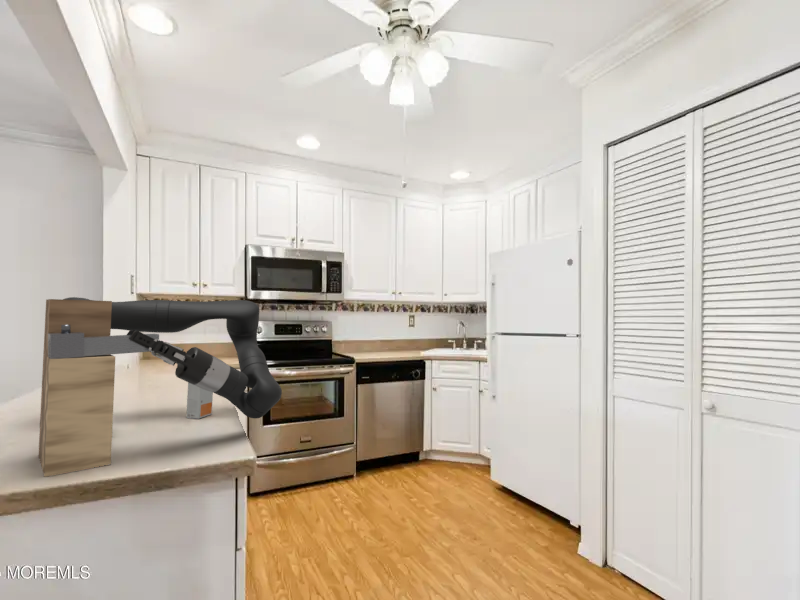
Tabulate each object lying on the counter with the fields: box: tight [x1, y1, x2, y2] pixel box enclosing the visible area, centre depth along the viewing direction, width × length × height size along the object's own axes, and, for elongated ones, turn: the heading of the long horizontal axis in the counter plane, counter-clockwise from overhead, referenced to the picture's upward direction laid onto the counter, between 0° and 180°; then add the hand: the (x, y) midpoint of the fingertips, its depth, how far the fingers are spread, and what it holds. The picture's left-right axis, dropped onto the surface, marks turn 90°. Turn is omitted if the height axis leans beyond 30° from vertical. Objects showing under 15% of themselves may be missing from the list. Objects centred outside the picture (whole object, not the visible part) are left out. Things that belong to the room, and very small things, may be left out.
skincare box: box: [185, 382, 214, 420], centre depth 124 cm, size 6×4×12 cm
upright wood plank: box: [37, 298, 116, 478], centre depth 87 cm, size 15×10×32 cm, turn 43°
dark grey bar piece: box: [48, 325, 160, 359], centre depth 86 cm, size 5×18×6 cm, turn 133°
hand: (130, 334), depth 89 cm, fingers open, 3 cm apart
